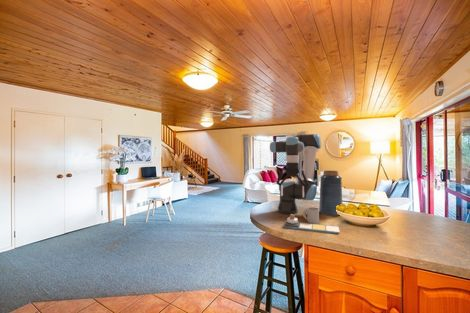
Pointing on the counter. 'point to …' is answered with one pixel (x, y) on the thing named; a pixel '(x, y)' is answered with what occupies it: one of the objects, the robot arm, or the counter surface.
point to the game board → (313, 227)
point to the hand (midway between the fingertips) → (292, 196)
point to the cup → (312, 215)
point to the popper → (292, 219)
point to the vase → (330, 193)
